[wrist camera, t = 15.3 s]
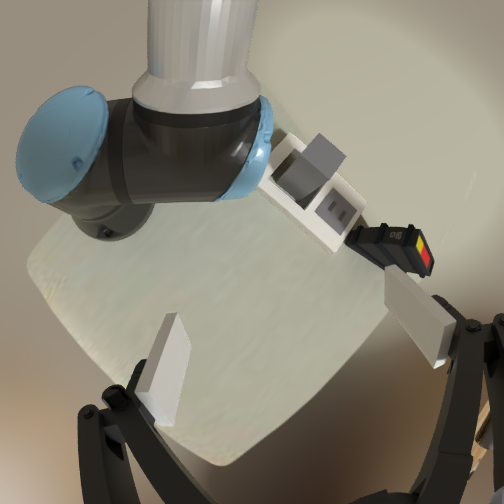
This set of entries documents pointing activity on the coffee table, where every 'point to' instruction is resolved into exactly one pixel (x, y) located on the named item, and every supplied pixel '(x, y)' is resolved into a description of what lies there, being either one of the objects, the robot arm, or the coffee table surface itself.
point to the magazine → (393, 248)
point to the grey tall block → (311, 168)
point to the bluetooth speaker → (487, 437)
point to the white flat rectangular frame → (314, 201)
